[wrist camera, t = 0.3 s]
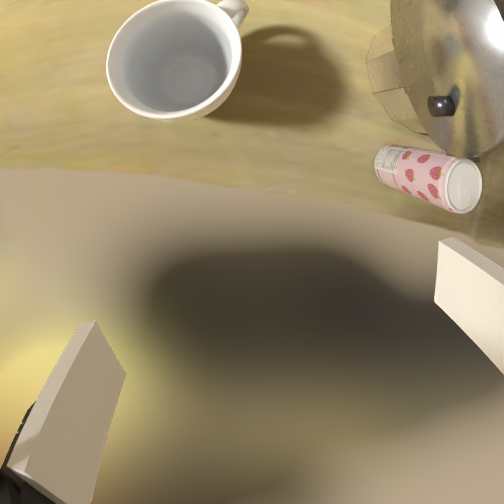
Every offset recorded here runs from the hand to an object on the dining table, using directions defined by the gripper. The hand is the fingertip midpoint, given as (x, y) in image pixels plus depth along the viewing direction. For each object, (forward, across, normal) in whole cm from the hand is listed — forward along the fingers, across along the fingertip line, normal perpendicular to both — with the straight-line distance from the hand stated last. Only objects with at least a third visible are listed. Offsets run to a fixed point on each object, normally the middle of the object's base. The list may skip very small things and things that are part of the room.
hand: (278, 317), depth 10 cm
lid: (+9, +17, +11) cm, 22 cm away
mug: (+28, -2, +14) cm, 32 cm away
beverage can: (+28, +20, -1) cm, 34 cm away
